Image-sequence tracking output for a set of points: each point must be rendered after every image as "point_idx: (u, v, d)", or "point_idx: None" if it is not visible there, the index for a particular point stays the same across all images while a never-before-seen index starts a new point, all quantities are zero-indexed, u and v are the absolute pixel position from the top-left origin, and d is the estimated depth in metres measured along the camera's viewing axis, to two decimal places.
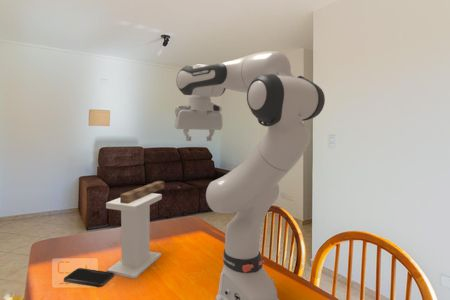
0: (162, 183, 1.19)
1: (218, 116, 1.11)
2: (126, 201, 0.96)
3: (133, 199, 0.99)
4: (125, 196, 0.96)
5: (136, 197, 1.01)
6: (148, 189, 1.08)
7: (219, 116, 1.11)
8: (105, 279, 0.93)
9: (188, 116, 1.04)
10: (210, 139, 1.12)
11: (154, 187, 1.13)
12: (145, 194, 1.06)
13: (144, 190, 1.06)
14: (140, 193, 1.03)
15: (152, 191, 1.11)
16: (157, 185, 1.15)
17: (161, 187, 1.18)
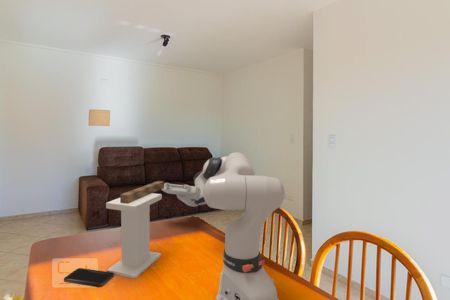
0: (162, 183, 1.19)
1: None
2: (126, 201, 0.96)
3: (133, 199, 0.99)
4: (125, 196, 0.96)
5: (136, 197, 1.01)
6: (148, 189, 1.08)
7: None
8: (105, 279, 0.93)
9: None
10: None
11: (154, 187, 1.13)
12: (145, 194, 1.06)
13: (144, 190, 1.06)
14: (140, 193, 1.03)
15: (152, 191, 1.11)
16: (157, 185, 1.15)
17: (161, 187, 1.18)
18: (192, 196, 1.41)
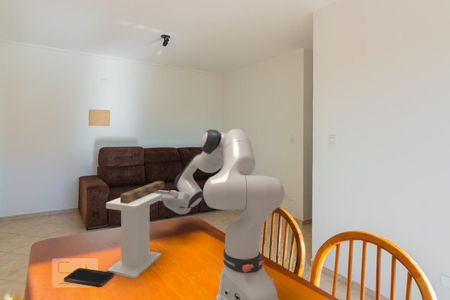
0: (162, 183, 1.19)
1: None
2: (126, 201, 0.96)
3: (133, 199, 0.99)
4: (125, 196, 0.96)
5: (136, 197, 1.01)
6: (148, 189, 1.08)
7: None
8: (105, 279, 0.93)
9: None
10: (171, 190, 1.20)
11: (154, 187, 1.13)
12: (145, 194, 1.06)
13: (144, 190, 1.06)
14: (140, 193, 1.03)
15: (152, 191, 1.11)
16: (157, 185, 1.15)
17: (161, 187, 1.18)
18: (180, 203, 1.27)
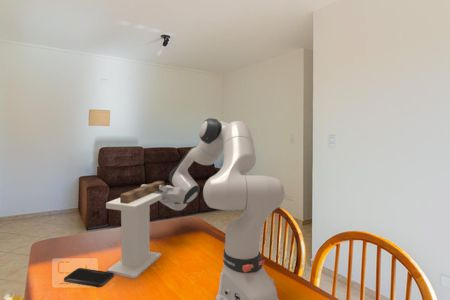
0: (162, 183, 1.19)
1: None
2: (126, 201, 0.96)
3: (133, 199, 0.99)
4: (125, 196, 0.96)
5: (136, 197, 1.01)
6: (148, 189, 1.08)
7: None
8: (105, 279, 0.93)
9: None
10: (160, 185, 1.16)
11: (154, 187, 1.13)
12: (145, 194, 1.06)
13: (144, 190, 1.06)
14: (140, 193, 1.03)
15: (152, 191, 1.11)
16: (157, 185, 1.15)
17: None
18: (175, 199, 1.22)
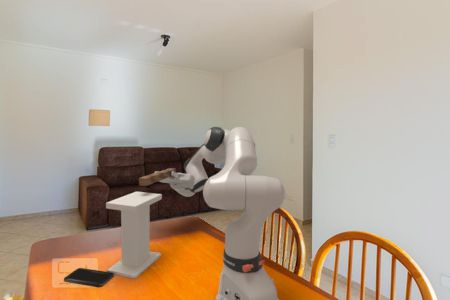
0: (174, 170, 1.29)
1: None
2: (144, 184, 1.06)
3: (150, 182, 1.09)
4: (143, 179, 1.06)
5: (152, 181, 1.11)
6: (162, 174, 1.19)
7: None
8: (105, 279, 0.93)
9: None
10: None
11: (167, 173, 1.23)
12: (160, 179, 1.17)
13: (159, 175, 1.16)
14: (156, 177, 1.14)
15: (166, 176, 1.22)
16: (170, 171, 1.25)
17: None
18: (186, 184, 1.32)
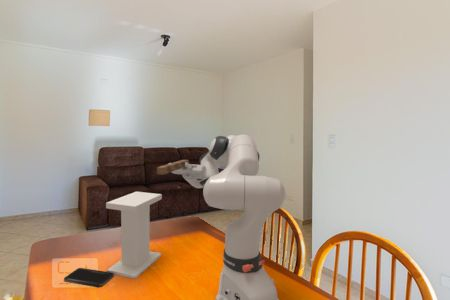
0: (187, 161, 1.37)
1: None
2: (162, 173, 1.14)
3: (167, 172, 1.17)
4: (161, 168, 1.14)
5: (169, 170, 1.19)
6: (177, 165, 1.26)
7: None
8: (105, 279, 0.93)
9: None
10: None
11: (181, 164, 1.31)
12: (175, 169, 1.24)
13: (175, 165, 1.24)
14: (172, 167, 1.21)
15: (180, 167, 1.29)
16: (183, 162, 1.33)
17: None
18: (198, 175, 1.40)
